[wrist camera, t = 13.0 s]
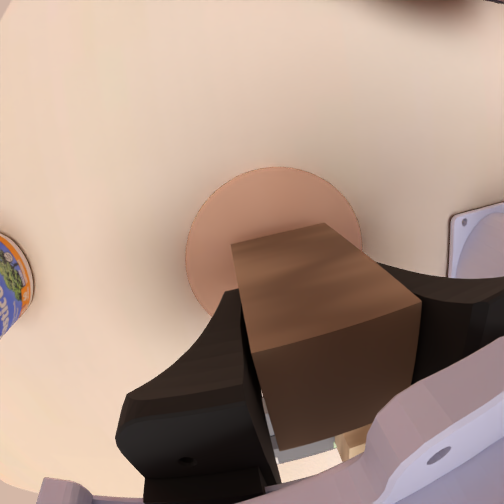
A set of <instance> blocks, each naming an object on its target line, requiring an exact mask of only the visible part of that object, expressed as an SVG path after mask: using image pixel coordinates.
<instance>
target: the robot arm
mask: <svg viewBox="0 0 504 504" xmlns="http://www.w3.org/2000/svg"><path fill="white" fill-rule="evenodd" d="M462 221H463V223H462ZM376 263H377V264H378V265H379V266H381V267H382V268H383V269H384V270H386V271H387V272H388V273H389V274H390V275H392V276H393V277H394V278H395V279H397V280H398V281H399V282H400V283H401V284H402V285H404V286H405V287H406V288H407V289H408V290H410V291H411V292H412V293H413V294H414V295H415V296H417V297H418V298H419V299H420V300H421V301H422V308H421V319H420V328H419V336H418V344H417V351H416V358H415V365H414V371H413V376H412V382H411V386H410V387H408V388H407V389H405V390H403V391H402V392H400V393H399V394H397V395H395V396H394V397H393V398H392V399H391V400H390V401H389V402H388V403H387V404H386V405H385V406H384V407H383V408H382V409H381V410H380V411H379V412H378V413H377V415H376V417H375V419H374V421H373V423H372V425H371V427H370V429H369V431H368V433H367V437H366V445H365V450H364V452H362V453H360V454H358V455H356V456H354V457H352V458H351V459H349V460H347V461H345V462H343V463H340V464H338V465H336V466H334V467H332V468H330V469H328V470H326V471H323V472H321V473H319V474H317V475H313V476H310V477H306V478H302V479H298V480H294V481H290V482H286V483H281V479H280V475H279V471H278V467H277V463H276V458H275V454H274V450H273V446H272V442H271V438H270V433H269V429H268V425H267V420H266V416H265V412H264V407H263V401H262V393H261V386H260V383H259V379H258V376H257V372H256V369H255V365H254V361H253V358H252V354H251V350H250V345H249V339H248V334H247V329H246V324H245V319H244V314H243V308H242V303H241V298H240V293H239V288H237V289H233V290H229V291H225V292H224V294H223V296H222V298H221V301H220V303H219V305H218V307H217V309H216V311H215V313H214V315H213V317H212V318H211V320H210V322H209V323H208V325H207V327H206V328H205V330H204V331H203V333H202V334H201V336H200V337H199V338H198V339H197V341H196V342H195V343H194V344H193V345H192V346H191V348H190V349H189V350H188V351H187V352H186V353H185V354H183V355H182V356H181V357H180V358H179V359H178V360H177V361H176V362H175V363H174V364H173V365H171V366H170V367H169V368H168V369H166V370H165V371H164V372H162V373H161V374H160V375H158V376H157V377H155V378H154V379H152V380H151V381H149V382H147V383H146V384H144V385H142V386H141V387H139V388H137V389H135V390H133V391H132V392H130V393H128V394H127V395H126V398H125V401H124V403H123V406H122V410H121V414H120V418H119V423H118V427H117V432H116V436H115V439H116V444H117V447H118V448H119V450H120V451H121V453H122V454H123V455H124V456H125V457H126V458H127V460H128V461H129V462H130V463H131V464H132V465H133V466H134V467H135V468H136V469H137V470H138V471H139V472H140V473H141V474H142V475H143V476H144V477H145V484H144V494H143V498H125V497H108V496H97V495H92V494H91V493H90V492H89V491H88V490H87V489H86V488H85V487H83V486H82V485H80V484H78V483H76V482H73V481H69V480H62V479H55V478H49V477H45V478H44V479H43V482H42V485H41V489H40V492H39V496H38V499H37V503H36V504H504V202H502V203H498V204H494V205H490V206H487V207H483V208H479V209H476V210H472V211H468V212H464V213H461V214H457V215H455V216H453V218H452V220H451V226H450V256H449V271H448V278H446V277H438V276H431V275H425V274H420V273H415V272H411V271H407V270H403V269H399V268H395V267H392V266H388V265H385V264H381V263H378V262H376Z"/></svg>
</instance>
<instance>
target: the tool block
mask: <svg viewBox="0 0 504 504" xmlns="http://www.w3.org/2000/svg"><path fill="white" fill-rule="evenodd" d="M231 250H232V255H233V260H234V266H235V271H236V277H237V282H238V287H239V293H240V298H241V303H242V308H243V314H244V319H245V324H246V329H247V334H248V339H249V345H250V350H251V354H252V358H253V361H254V365H255V369H256V372H257V376H258V379H259V383H260V386H261V390H262V393H263V397H264V400H265V404H266V407H267V410H268V414H269V417H270V421H271V424H272V428H273V431H274V434H275V438H276V441H277V444H278V448H279V451H284V450H288V449H292V448H296V447H300V446H304V445H307V444H311V443H314V442H318V441H321V440H324V439H328V438H331V437H334V436H337V435H340V434H343V433H346V432H349V431H352V430H355V429H358V428H360V427H363V426H366V425H368V424H371V423H373V421H374V419H375V417H376V415H377V413H378V412H379V411H380V410H381V409H382V408H383V407H384V406H385V405H386V404H387V403H388V402H389V401H390V400H391V399H392V398H393V397H394V396H395V395H397V394H399V393H400V392H402V391H403V390H405V389H407V388H408V387H410V386H411V382H412V376H413V371H414V365H415V358H416V351H417V344H418V336H419V328H420V319H421V308H422V301H421V300H420V299H419V298H418V297H417V296H415V295H414V294H413V293H412V292H411V291H410V290H408V289H407V288H406V287H405V286H404V285H402V284H401V283H400V282H399V281H398V280H397V279H395V278H394V277H393V276H392V275H390V274H389V273H388V272H387V271H386V270H384V269H383V268H382V267H381V266H379V265H378V264H377V263H376V262H375V261H373V260H372V259H371V258H370V257H368V256H367V255H366V254H365V253H363V252H362V251H361V250H360V249H358V248H357V247H356V246H354V245H353V244H352V243H351V242H349V241H348V240H347V239H345V238H344V237H343V236H342V235H340V234H339V233H338V232H336V231H335V230H334V229H332V228H331V227H330V226H328V225H327V224H326V223H325V222H324V223H320V224H315V225H311V226H307V227H302V228H298V229H294V230H289V231H285V232H281V233H276V234H272V235H268V236H264V237H259V238H255V239H251V240H247V241H242V242H238V243H234V244H231Z"/></svg>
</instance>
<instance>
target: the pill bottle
mask: <svg viewBox="0 0 504 504" xmlns="http://www.w3.org/2000/svg"><path fill="white" fill-rule="evenodd" d="M32 295H33V279H32V274H31V270H30V267H29V264H28V262H27V260H26V258H25V256H24V254H23V253H22V251H21V250H20V249H19V247H18V246H17V245H16V244H15V243H14V242H13V241H12V240H11V239H9V238H8V237H6V236H4V235H2V234H0V339H1V338H2V336H3V335H4V334H5V333H6V332H7V331H8V330H9V328H10V327H11V326H12V325H13V324H14V323H15V322H16V321H17V320H18V318H19V317H20V316H21V315H22V314H23V313H24V312H25V311H26V309H27V308H28V306H29V305H30V303H31V300H32Z"/></svg>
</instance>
